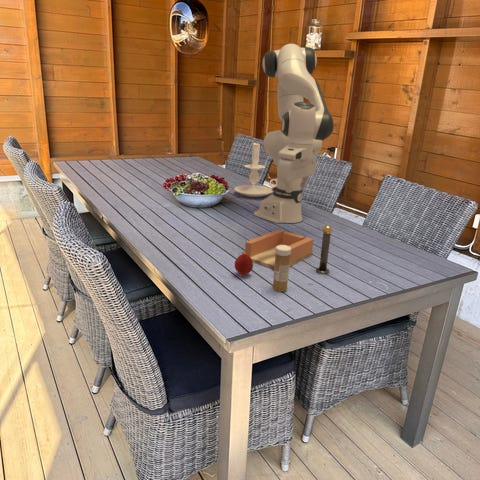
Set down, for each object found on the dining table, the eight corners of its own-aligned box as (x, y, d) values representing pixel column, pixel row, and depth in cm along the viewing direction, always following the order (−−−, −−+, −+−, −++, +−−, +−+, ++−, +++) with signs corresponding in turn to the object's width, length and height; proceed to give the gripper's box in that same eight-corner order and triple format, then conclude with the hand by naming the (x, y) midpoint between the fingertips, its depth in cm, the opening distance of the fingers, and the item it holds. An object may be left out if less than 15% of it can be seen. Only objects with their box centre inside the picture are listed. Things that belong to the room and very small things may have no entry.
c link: (277, 241, 173) (278, 229, 171) (312, 252, 164) (313, 239, 163) (244, 255, 158) (245, 241, 157) (280, 267, 150) (281, 253, 148)
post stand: (313, 271, 151) (318, 225, 145) (319, 267, 154) (325, 222, 149) (325, 275, 148) (330, 228, 143) (331, 271, 152) (337, 225, 146)
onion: (251, 272, 148) (253, 249, 145) (252, 279, 143) (254, 255, 140) (233, 271, 148) (234, 248, 145) (234, 279, 142) (235, 255, 140)
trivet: (242, 258, 159) (242, 255, 158) (275, 243, 174) (276, 240, 174) (280, 271, 149) (280, 268, 149) (312, 254, 165) (312, 251, 165)
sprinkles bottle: (271, 285, 139) (274, 244, 135) (286, 285, 140) (289, 244, 135) (273, 292, 135) (277, 249, 130) (288, 292, 135) (292, 250, 131)
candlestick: (286, 198, 241) (290, 145, 231) (243, 201, 231) (246, 145, 222) (268, 189, 258) (272, 139, 249) (228, 191, 249) (230, 139, 239)
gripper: (307, 147, 168) (303, 184, 173) (275, 152, 153) (272, 193, 157) (322, 149, 164) (318, 187, 169) (291, 155, 149) (288, 196, 154)
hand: (295, 190), depth 163 cm, fingers open, 8 cm apart
